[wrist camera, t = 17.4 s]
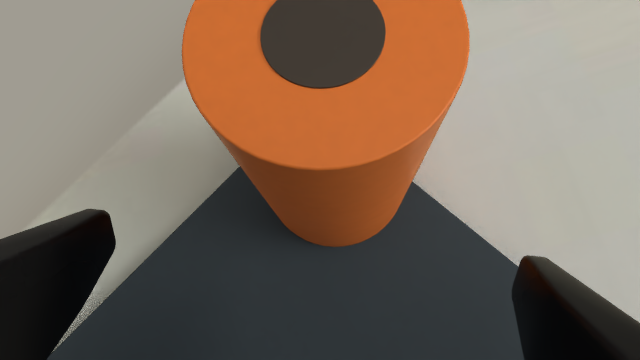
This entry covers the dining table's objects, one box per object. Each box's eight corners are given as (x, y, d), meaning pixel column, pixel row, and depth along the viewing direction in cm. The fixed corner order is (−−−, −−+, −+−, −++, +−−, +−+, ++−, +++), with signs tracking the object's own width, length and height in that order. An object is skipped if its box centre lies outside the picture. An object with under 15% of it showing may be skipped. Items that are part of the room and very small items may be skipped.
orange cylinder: (373, 270, 17) (407, 219, 7) (244, 212, 18) (126, 102, 8) (424, 144, 18) (509, -36, 9) (302, 98, 19) (259, -107, 10)
